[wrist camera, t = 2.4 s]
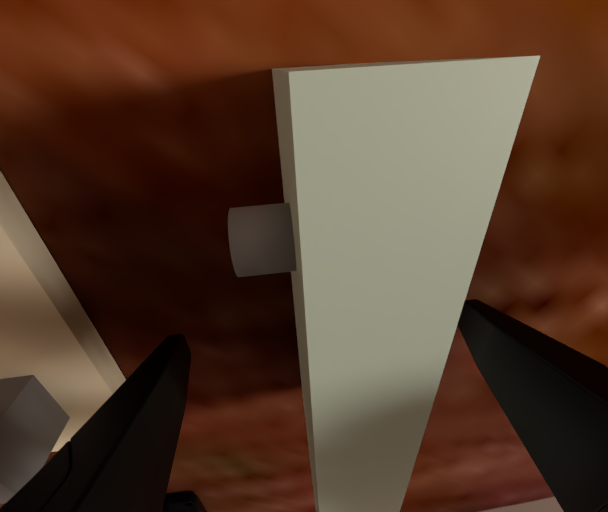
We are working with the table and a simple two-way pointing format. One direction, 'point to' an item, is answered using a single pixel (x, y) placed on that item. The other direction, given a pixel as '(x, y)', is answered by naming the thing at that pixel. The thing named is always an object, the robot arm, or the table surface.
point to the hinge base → (42, 353)
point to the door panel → (379, 247)
